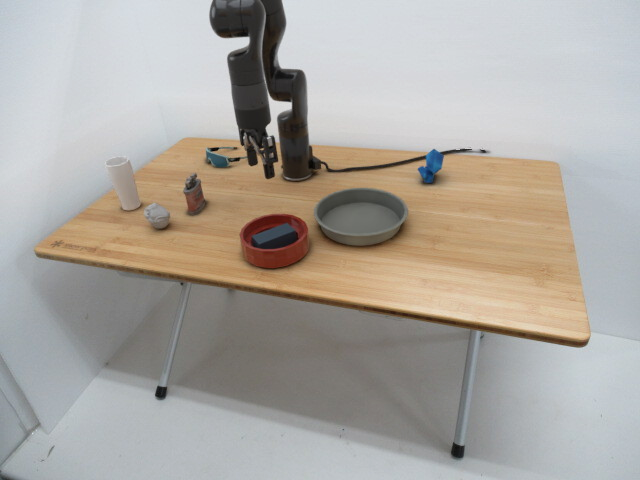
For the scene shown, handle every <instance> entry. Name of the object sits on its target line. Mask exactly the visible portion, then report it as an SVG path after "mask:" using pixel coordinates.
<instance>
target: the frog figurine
mask: <svg viewBox="0 0 640 480" xmlns="http://www.w3.org/2000/svg"><path fill="white" fill-rule="evenodd" d="M143 215H144V218H145V219H146V220H147V222H148V223H150V225H151V226H152V227H154V229H160V230H161V229H164V228H166V227H167V226H168V225H169V224H170V219H171V213H170V212H169V210H168V209H167V208H166V207H164V206H162V205H161V204H159V203H157V202H152V203H151V204H149V205H147V206H146V207H145V208H144V210H143Z"/></svg>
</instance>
